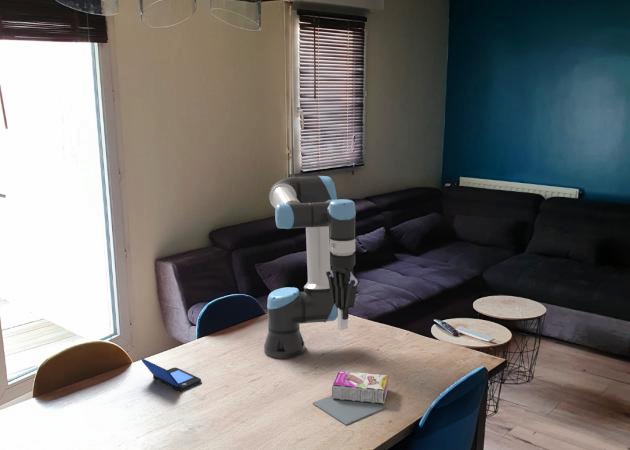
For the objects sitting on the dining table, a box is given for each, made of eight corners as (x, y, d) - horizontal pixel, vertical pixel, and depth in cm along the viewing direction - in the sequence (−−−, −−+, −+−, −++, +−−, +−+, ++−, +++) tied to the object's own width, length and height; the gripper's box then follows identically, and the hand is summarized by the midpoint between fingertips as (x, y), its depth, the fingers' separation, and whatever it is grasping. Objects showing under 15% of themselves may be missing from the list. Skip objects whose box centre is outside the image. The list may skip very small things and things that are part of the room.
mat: (312, 403, 188) (312, 402, 188) (352, 388, 197) (352, 387, 197) (345, 425, 175) (345, 424, 175) (386, 408, 185) (386, 407, 185)
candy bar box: (338, 369, 199) (388, 374, 196) (338, 383, 200) (388, 388, 197) (332, 384, 188) (385, 389, 185) (331, 399, 189) (384, 405, 186)
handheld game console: (203, 383, 203) (201, 357, 201) (169, 398, 193) (167, 371, 191) (175, 370, 213) (173, 345, 211) (141, 383, 204) (139, 357, 202)
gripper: (318, 250, 182) (319, 325, 187) (346, 259, 171) (347, 337, 176) (338, 246, 186) (338, 319, 191) (366, 254, 176) (366, 331, 181)
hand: (342, 328), depth 184 cm, fingers closed
